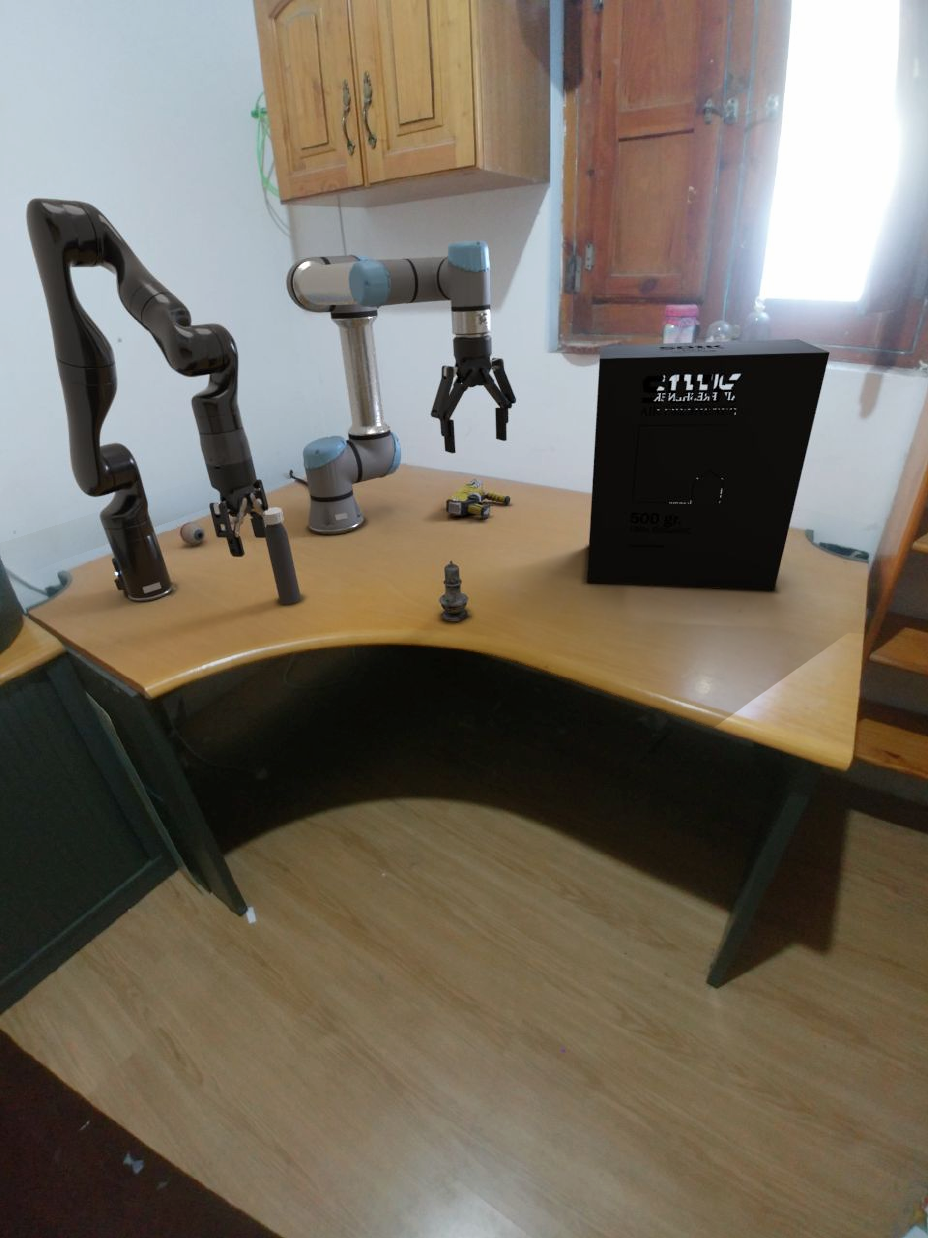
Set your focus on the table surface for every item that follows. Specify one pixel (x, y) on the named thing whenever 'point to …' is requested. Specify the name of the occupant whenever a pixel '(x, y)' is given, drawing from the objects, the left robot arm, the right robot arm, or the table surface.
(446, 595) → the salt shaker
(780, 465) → the cardboard box
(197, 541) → the eyeball
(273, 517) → the cap
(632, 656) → the table surface
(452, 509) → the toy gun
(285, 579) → the bottle
